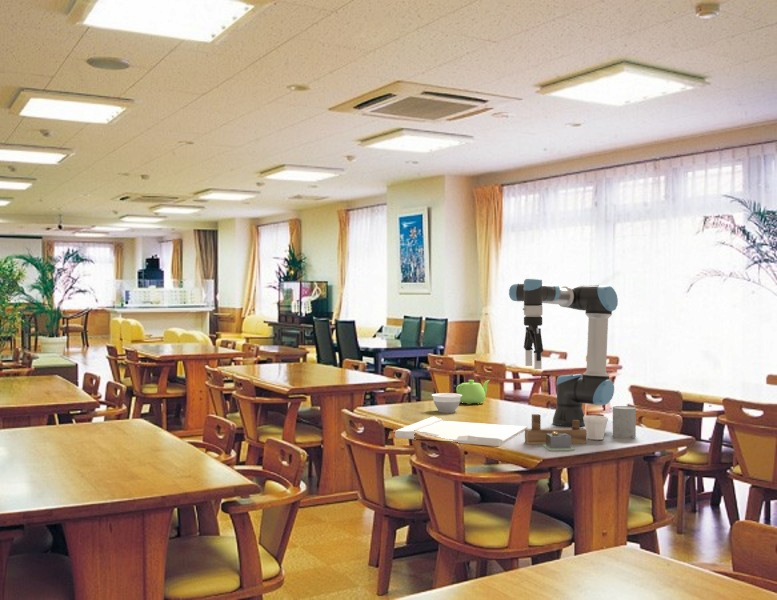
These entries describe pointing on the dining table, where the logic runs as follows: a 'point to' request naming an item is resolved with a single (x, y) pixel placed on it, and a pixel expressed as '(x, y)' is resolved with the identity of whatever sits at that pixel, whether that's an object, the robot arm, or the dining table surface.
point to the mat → (557, 448)
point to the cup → (595, 426)
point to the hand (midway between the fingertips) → (533, 367)
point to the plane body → (539, 434)
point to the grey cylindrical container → (624, 422)
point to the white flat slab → (462, 431)
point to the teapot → (472, 392)
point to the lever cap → (558, 440)
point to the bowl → (446, 401)
